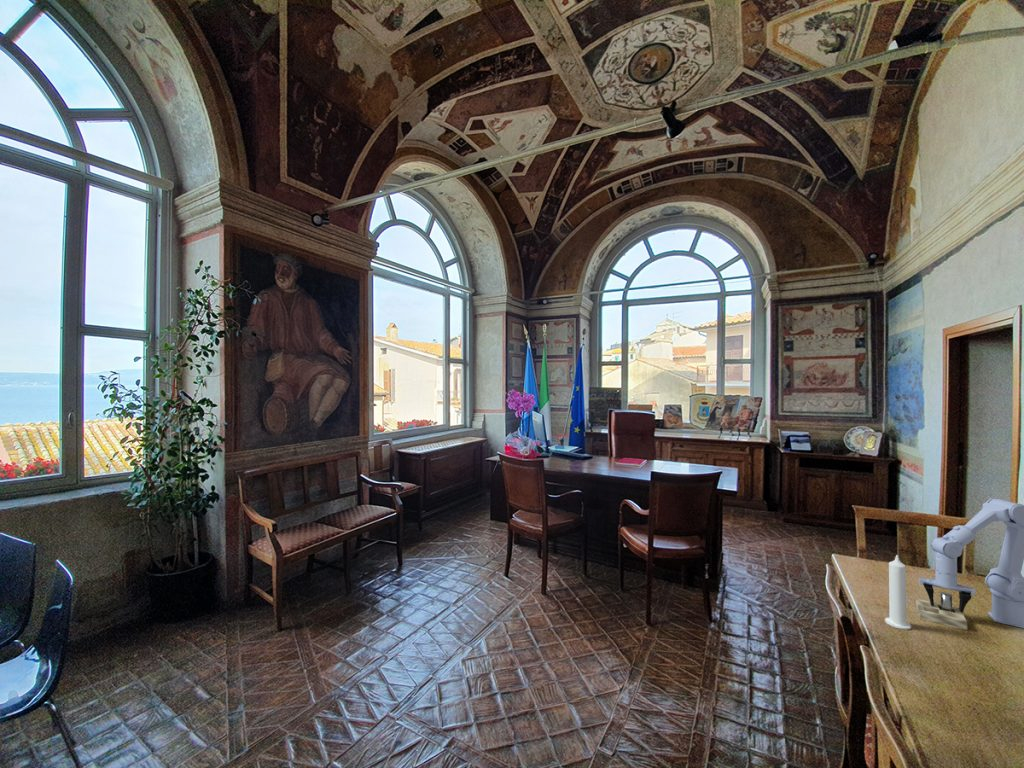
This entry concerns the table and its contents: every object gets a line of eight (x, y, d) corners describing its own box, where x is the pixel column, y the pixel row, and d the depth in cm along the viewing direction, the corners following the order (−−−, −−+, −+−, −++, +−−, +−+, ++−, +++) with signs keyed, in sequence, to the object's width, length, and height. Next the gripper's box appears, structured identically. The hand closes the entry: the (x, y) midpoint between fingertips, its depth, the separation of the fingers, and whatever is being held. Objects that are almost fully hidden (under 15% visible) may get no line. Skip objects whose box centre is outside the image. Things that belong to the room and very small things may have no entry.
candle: (916, 631, 148) (915, 559, 149) (893, 628, 150) (892, 558, 150) (902, 620, 155) (901, 552, 156) (880, 618, 157) (879, 550, 157)
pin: (951, 615, 158) (951, 593, 158) (953, 618, 155) (952, 596, 156) (940, 612, 160) (939, 591, 160) (941, 615, 157) (941, 594, 157)
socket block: (959, 616, 158) (959, 608, 158) (967, 630, 149) (967, 621, 149) (915, 605, 166) (915, 598, 166) (920, 619, 156) (920, 610, 156)
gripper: (971, 573, 156) (971, 609, 156) (917, 563, 165) (918, 598, 165) (976, 579, 151) (977, 618, 151) (920, 569, 160) (921, 605, 159)
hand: (946, 608), depth 158 cm, fingers open, 7 cm apart
